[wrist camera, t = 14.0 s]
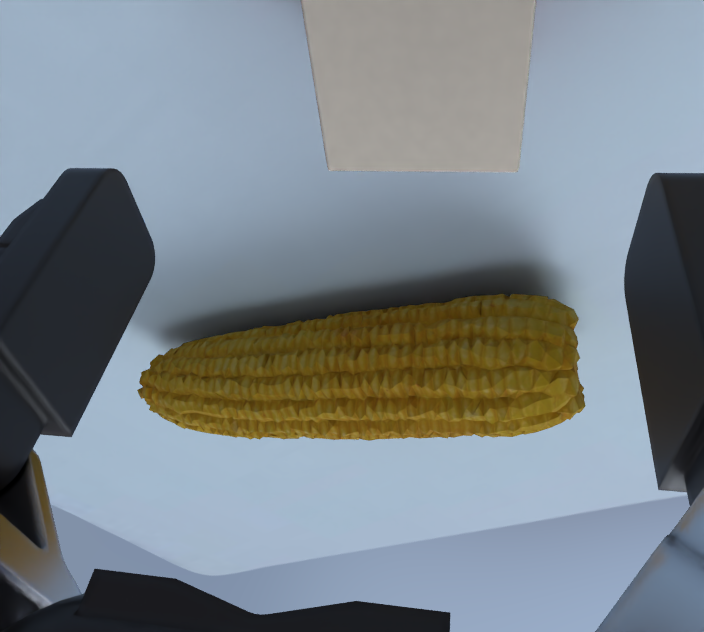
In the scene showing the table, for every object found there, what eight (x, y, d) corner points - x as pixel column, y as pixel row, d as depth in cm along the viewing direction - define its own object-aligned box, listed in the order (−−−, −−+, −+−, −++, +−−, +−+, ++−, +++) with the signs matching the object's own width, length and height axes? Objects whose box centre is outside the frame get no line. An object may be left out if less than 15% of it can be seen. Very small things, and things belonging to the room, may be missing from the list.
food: (566, 250, 25) (577, 373, 21) (586, 340, 29) (598, 459, 25) (138, 322, 33) (89, 421, 29) (196, 386, 37) (160, 481, 33)
